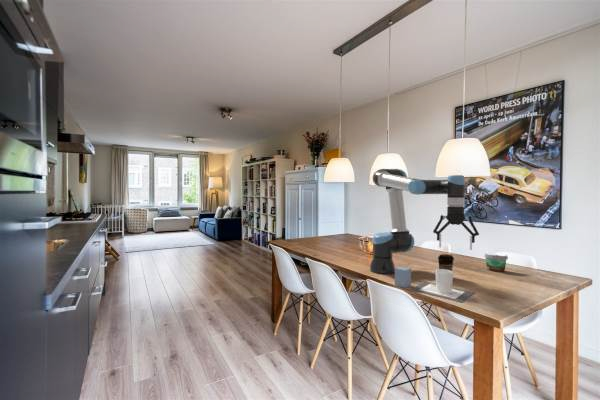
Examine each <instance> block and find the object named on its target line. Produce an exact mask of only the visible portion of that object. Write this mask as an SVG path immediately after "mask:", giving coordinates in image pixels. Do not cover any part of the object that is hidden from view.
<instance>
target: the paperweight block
mask: <svg viewBox="0 0 600 400" xmlns="http://www.w3.org/2000/svg"><path fill="white" fill-rule="evenodd" d="M394 286H397V287H401V288H404V287H405V289H406V288H408V287H410V286H412V267H406V266H398V267H395V272H394Z"/></svg>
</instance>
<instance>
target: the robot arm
mask: <svg viewBox="0 0 600 400" xmlns="http://www.w3.org/2000/svg"><path fill="white" fill-rule="evenodd" d="M372 181H373V183H374V184H375V186H377V187H381V188H382V187H383V188H385V191H386V192H387V193H388V200H389V209H390V219H391V230H390V232H388V231H387V232H378V233H375V234H373V236H372V260H371V263H370V265H369V271H370V272H372V273H375V274H381V275H388V274H390V275H391V274H395V268H396V267H395V263H394V260H393V254H398V253H407V252H410V251H412V249H413V248H414V246H415V238H414V236H413V235H412V234H411V233H410V230H409V229H407V223H406V214H405V213H406V212H405V203H404V196H403V191H406V192H409V193H410V194H412V195H447V199H446V200H447V201H446V203H447V206H446V207H447V208H446V209H447V212H446V213H447V214H446V215H443V214H441V215H440V219H439V220H438V222H437V224H436V226H435V227H434V229H433V231H432V232H433V233H434V234H436V241H438V242H439V244H438V245H439V246H438V247H439V248H442V232H443V231H445V229H446V228H447V227H448V226H449V225H453V226H454V225H457V226H461V225H462V227H463V228H464V229H465V230H466V231H467V232H468V233H469V234H470V236H469V250H471V251H472V250H473V244H474V243H475V241H476V240H475V238H476V237H477V236H479V235H480V233H479V231H478V230H477V227H476V226H475V224H474V222H473V219H472V216H471V215H469V216H465V207H464V206H465V187H466V182H465V181H466V180H465V176H464V175H461V174H460V175H459V174H455V175H454V174H452V175H448V176H447V179H421V178H419V179H418V178H415V177H408V175H407V173H406V171H404V170H403V169H401V168H400V169H399V168H380V169H378V170H376V171H375V172H374V173H373V175H372ZM445 219H446V220H447V222H446V223H445V224H444V225H443V226H441V228H440V229H439V227H440V225H441V224H442V223H443V221H444V220H445ZM465 220H467V221H468V222H469V224H470V226H471V228H472V229H473V230H471V228H470V227H468V225H467V224H466V223H465V222H464V221H465ZM438 229H439V230H438Z"/></svg>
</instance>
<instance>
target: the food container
mask: <svg viewBox="0 0 600 400" xmlns="http://www.w3.org/2000/svg"><path fill="white" fill-rule="evenodd" d="M483 256H484V257H485V262H486V264H485V265H486V270H488V271H490V272H493V273H494V272H495V273H504V272H505V271H506V267H507V266H506V264H507V260H508V259H509V257H508V255H499V254H488V253H484V255H483Z"/></svg>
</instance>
